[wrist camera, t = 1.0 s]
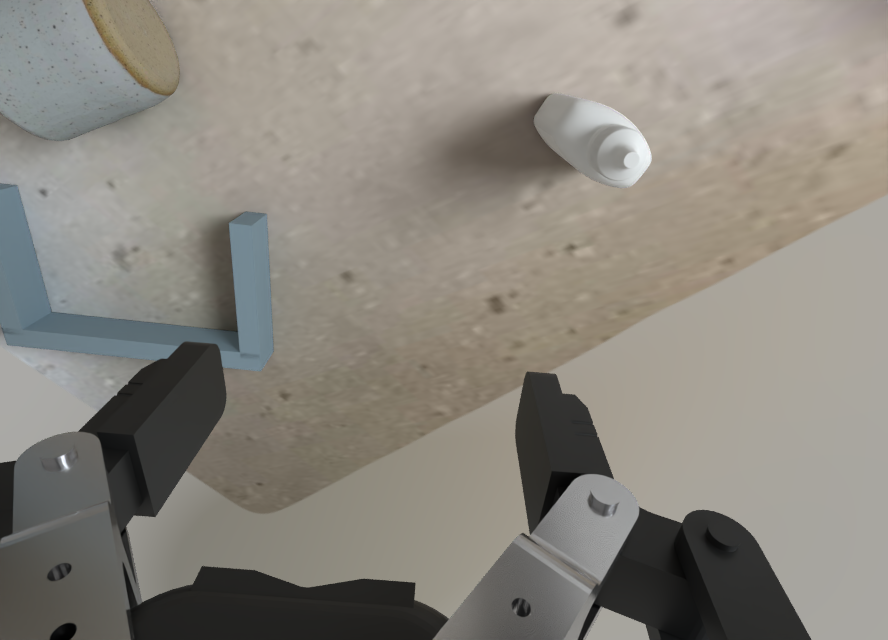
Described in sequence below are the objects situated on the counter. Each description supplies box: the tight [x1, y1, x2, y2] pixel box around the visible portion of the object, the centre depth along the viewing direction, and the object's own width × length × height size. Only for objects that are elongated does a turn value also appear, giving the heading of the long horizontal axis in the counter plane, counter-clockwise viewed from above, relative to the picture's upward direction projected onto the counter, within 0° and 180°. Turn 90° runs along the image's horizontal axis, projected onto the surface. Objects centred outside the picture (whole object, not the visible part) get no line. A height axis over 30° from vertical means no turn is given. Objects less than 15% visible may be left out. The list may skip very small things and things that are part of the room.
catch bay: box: [0, 184, 274, 371], centre depth 37 cm, size 12×19×3 cm, turn 84°
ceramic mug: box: [0, 0, 180, 141], centre depth 27 cm, size 11×8×8 cm
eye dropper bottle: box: [534, 93, 651, 188], centre depth 27 cm, size 4×6×12 cm
